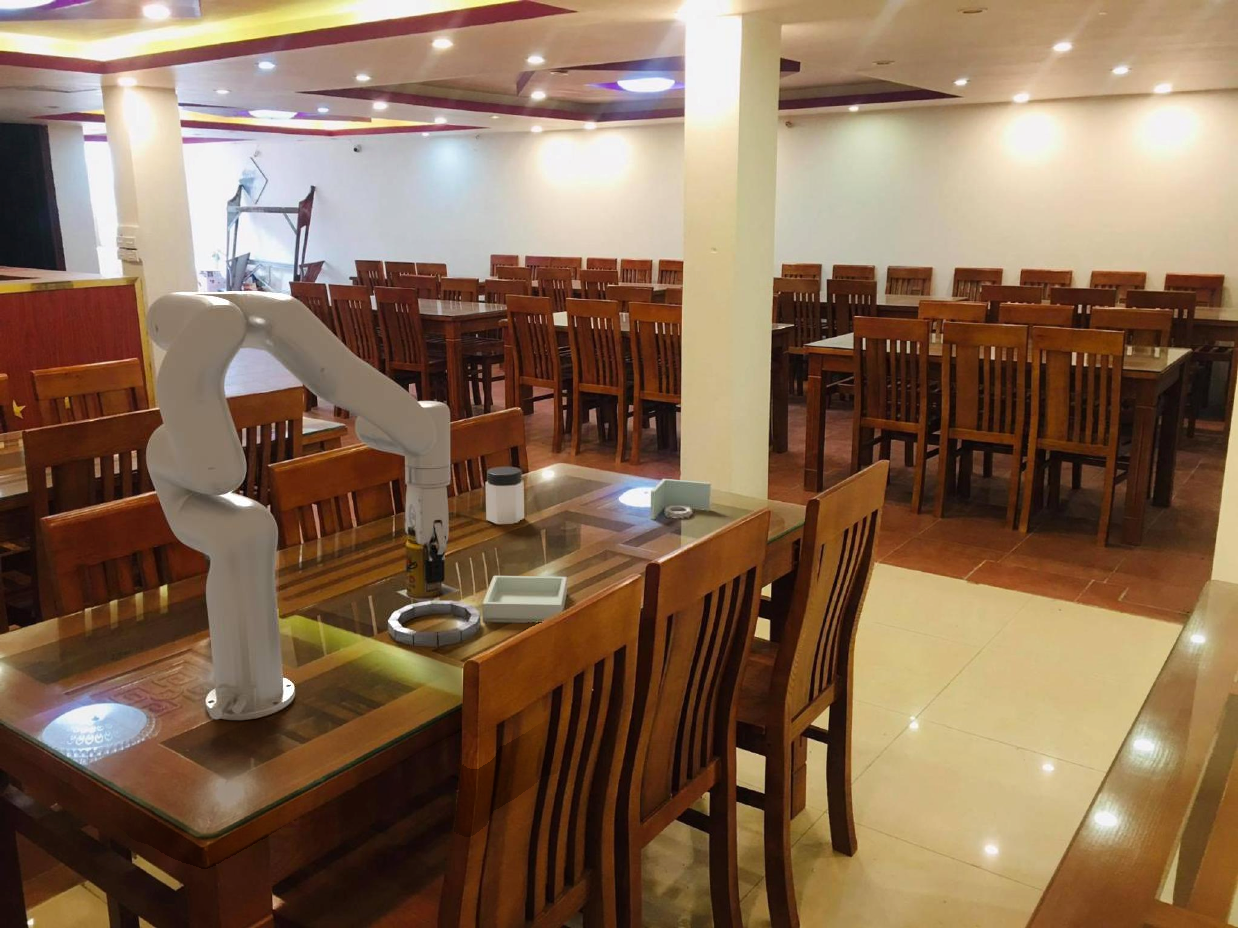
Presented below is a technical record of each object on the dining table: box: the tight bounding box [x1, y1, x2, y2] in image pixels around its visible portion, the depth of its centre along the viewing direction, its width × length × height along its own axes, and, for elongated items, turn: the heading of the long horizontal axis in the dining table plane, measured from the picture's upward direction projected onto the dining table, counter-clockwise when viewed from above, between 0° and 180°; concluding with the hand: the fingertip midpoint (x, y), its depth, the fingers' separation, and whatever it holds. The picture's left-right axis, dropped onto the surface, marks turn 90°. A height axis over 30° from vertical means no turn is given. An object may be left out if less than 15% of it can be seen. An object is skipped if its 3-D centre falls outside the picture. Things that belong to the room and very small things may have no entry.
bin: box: [481, 575, 568, 624], centre depth 186 cm, size 14×14×4 cm
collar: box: [387, 599, 481, 648], centre depth 177 cm, size 16×16×2 cm
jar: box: [485, 466, 525, 525], centre depth 238 cm, size 9×8×12 cm
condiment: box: [396, 527, 461, 603], centre depth 173 cm, size 7×8×12 cm
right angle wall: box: [650, 478, 712, 520], centre depth 243 cm, size 12×12×8 cm
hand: (428, 575), depth 174 cm, fingers closed on condiment, 6 cm apart
